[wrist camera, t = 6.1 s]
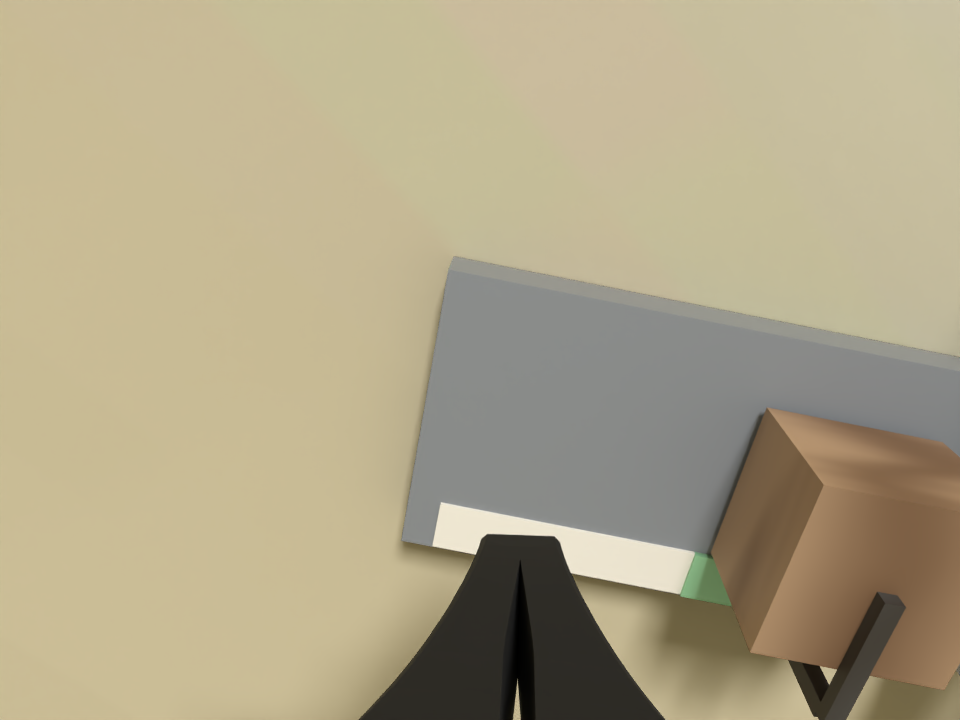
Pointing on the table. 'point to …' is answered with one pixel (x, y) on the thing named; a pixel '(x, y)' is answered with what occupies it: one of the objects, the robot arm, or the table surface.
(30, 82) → the table surface
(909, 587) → the block
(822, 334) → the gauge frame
